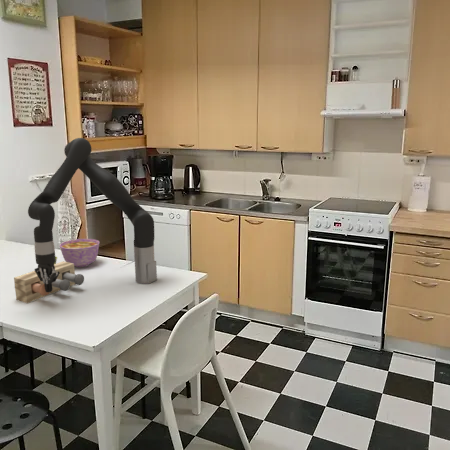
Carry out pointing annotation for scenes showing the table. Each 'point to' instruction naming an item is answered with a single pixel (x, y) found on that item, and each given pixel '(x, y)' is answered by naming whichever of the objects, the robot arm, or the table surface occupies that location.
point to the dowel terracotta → (39, 288)
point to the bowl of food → (80, 251)
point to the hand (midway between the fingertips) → (48, 291)
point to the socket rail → (25, 281)
